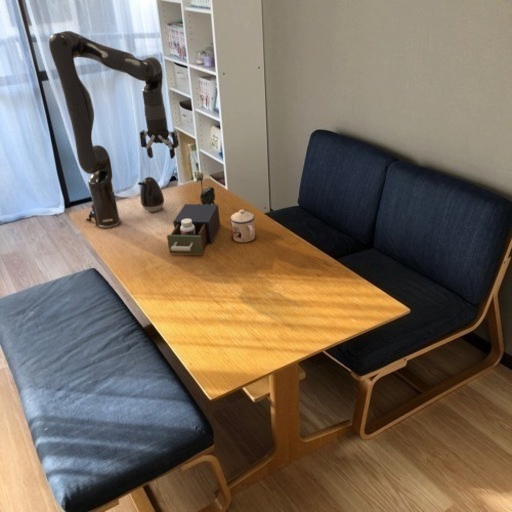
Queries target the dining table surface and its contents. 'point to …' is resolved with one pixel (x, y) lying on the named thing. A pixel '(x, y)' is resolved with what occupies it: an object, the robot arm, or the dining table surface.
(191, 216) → the cabinet
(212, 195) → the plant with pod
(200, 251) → the drawer
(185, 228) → the pill bottle
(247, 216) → the teacup with lid
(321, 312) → the dining table surface
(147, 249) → the dining table surface
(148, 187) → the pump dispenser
